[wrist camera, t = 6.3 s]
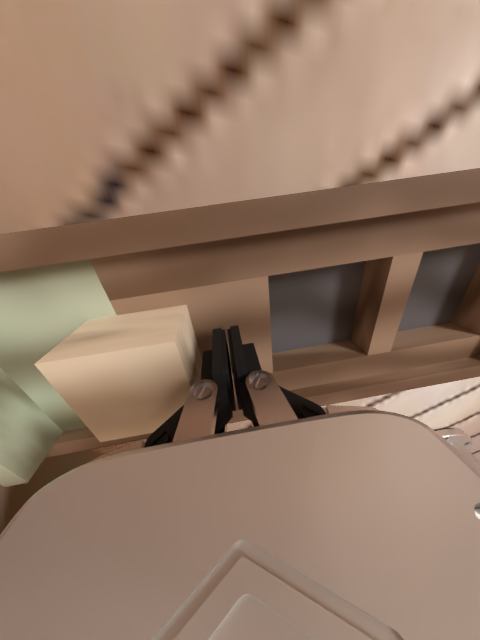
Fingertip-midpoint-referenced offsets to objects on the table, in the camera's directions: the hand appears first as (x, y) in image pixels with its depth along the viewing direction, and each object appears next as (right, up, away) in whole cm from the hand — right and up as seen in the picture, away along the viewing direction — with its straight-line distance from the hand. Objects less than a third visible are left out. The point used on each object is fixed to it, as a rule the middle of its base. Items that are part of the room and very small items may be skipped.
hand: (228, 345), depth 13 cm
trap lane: (+3, +2, +3) cm, 5 cm away
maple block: (-5, 0, +1) cm, 5 cm away
